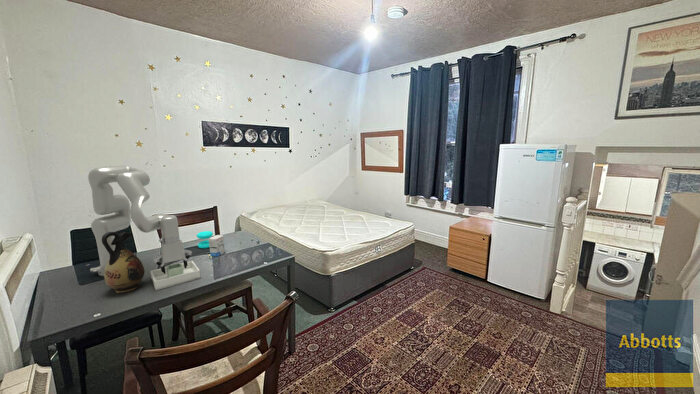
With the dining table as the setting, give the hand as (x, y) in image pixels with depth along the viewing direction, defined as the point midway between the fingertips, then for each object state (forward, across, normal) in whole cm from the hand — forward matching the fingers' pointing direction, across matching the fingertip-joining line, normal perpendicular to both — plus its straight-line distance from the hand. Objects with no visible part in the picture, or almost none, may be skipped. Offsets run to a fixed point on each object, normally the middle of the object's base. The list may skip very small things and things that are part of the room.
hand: (175, 270), depth 148 cm
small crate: (+4, 0, 0) cm, 4 cm away
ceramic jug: (+5, -21, +4) cm, 22 cm away
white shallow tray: (+5, 0, 0) cm, 5 cm away
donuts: (+5, +25, +41) cm, 48 cm away
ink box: (+5, +27, +21) cm, 35 cm away
